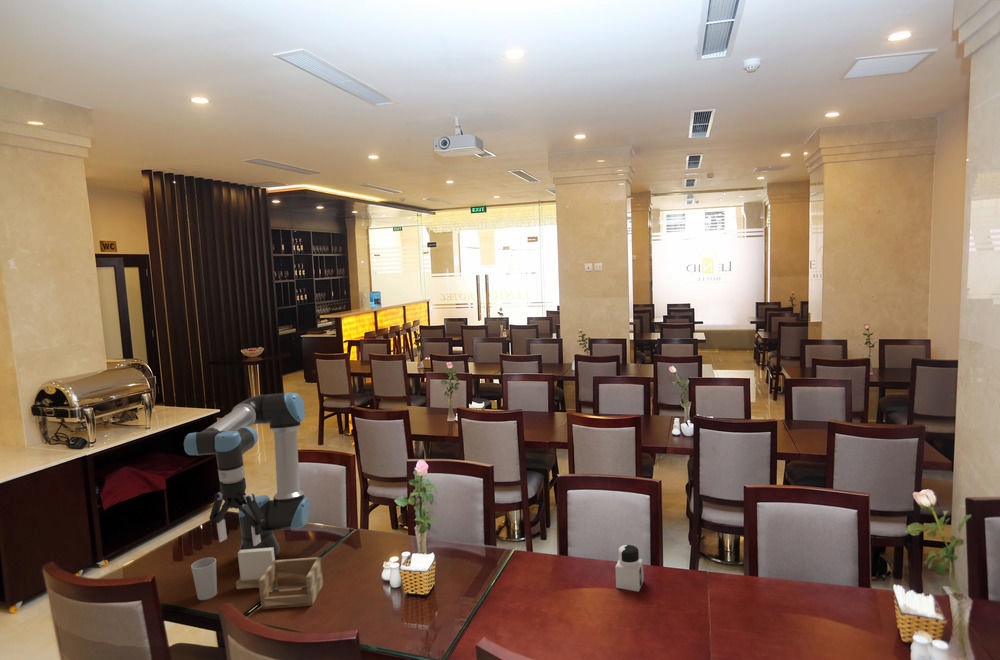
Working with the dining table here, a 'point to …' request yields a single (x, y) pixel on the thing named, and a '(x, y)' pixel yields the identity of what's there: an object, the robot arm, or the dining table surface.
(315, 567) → the wooden box
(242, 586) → the small wooden tray
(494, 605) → the dining table surface
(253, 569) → the white square slab
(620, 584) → the container
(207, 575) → the cup
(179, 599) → the dining table surface
